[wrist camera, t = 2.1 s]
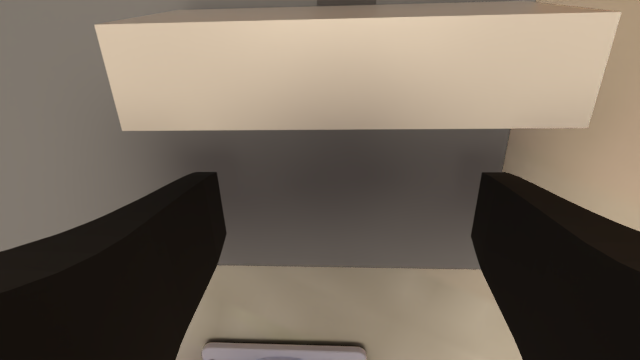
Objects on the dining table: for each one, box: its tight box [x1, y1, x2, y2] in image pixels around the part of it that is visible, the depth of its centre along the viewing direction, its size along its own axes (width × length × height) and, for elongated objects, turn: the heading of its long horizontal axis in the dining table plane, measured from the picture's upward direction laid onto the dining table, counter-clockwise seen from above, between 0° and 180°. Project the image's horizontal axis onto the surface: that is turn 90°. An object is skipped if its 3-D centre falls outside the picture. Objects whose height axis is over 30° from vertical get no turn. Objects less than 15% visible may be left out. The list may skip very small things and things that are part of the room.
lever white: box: [94, 1, 621, 131], centre depth 9 cm, size 2×9×4 cm, turn 92°
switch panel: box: [0, 0, 536, 269], centre depth 12 cm, size 16×24×2 cm, turn 92°
